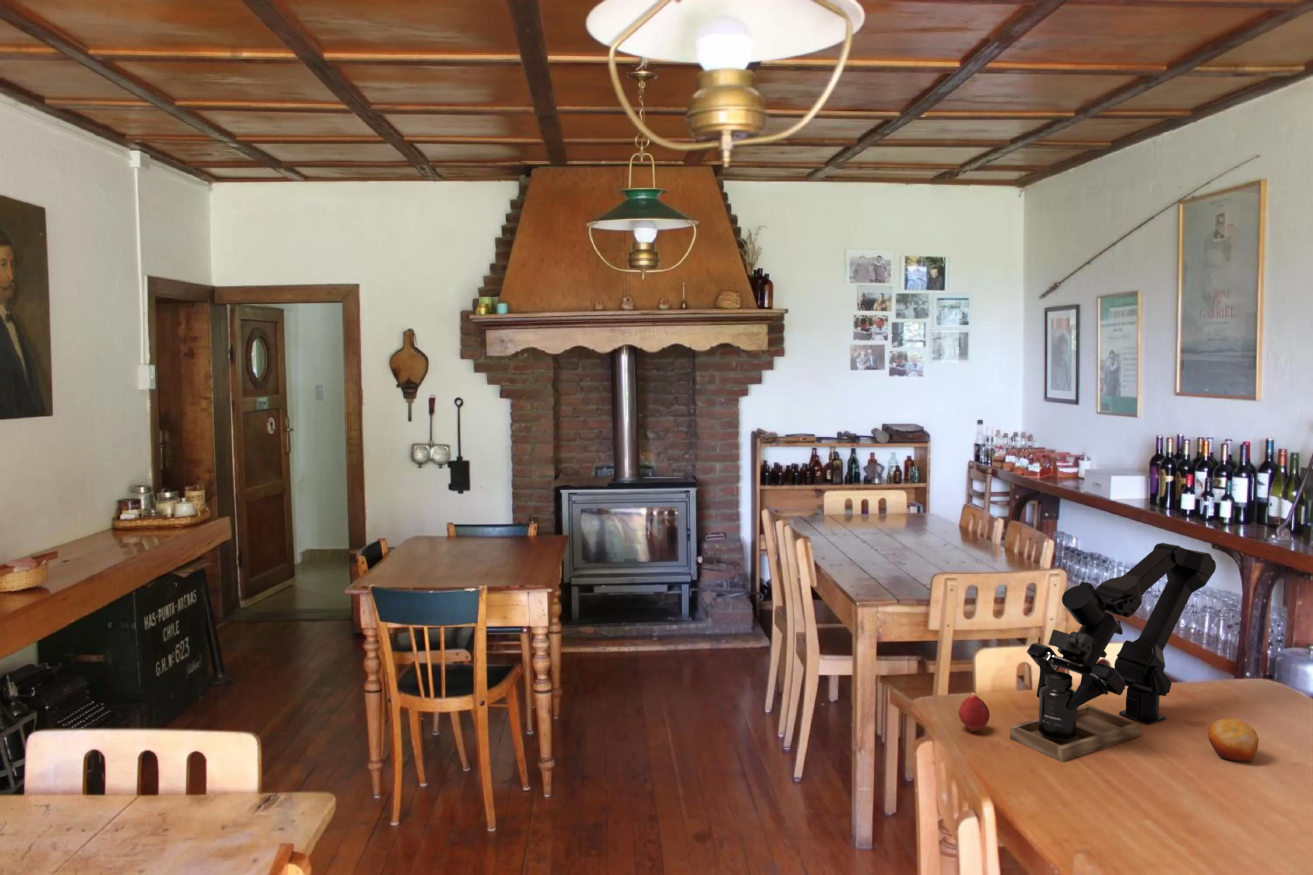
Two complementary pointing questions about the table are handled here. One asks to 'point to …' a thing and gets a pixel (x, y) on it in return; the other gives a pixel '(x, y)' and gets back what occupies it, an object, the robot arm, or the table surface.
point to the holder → (1079, 734)
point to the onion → (974, 713)
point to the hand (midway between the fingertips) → (1053, 703)
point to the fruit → (1233, 739)
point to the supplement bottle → (1057, 707)
